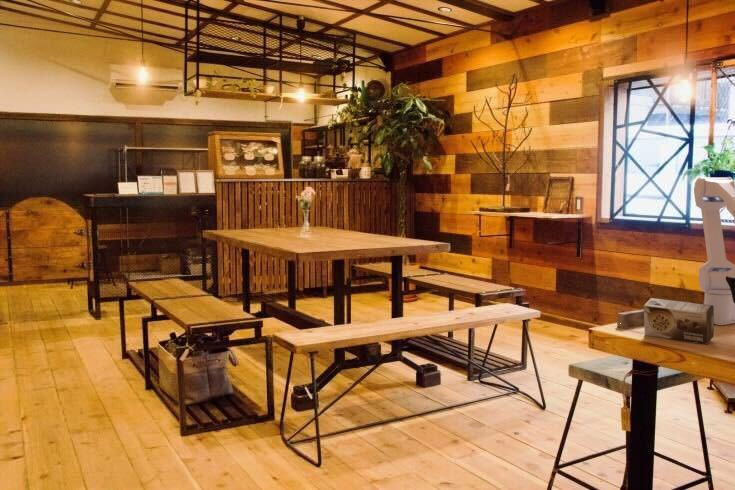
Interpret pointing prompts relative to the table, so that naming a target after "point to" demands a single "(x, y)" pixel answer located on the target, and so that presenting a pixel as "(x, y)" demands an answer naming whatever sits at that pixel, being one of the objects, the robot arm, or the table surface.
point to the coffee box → (679, 320)
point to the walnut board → (630, 318)
